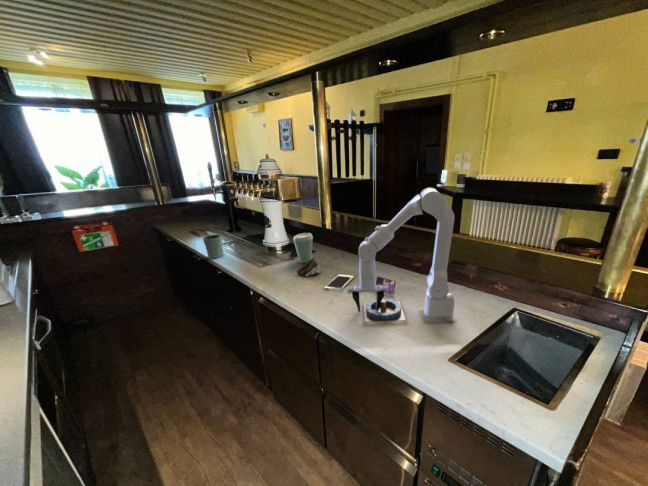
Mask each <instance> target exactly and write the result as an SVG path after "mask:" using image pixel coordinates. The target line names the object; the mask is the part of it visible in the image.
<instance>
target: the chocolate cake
mask: <svg viewBox="0 0 648 486" xmlns="http://www.w3.org/2000/svg"><path fill="white" fill-rule="evenodd" d="M295 272H296V274H297V275H301V276H303V277H304V278H305V277H309V276H314V275H315V274H320V273H321V272H322V269H321V266H320V264H318V262H317V260H316V258H315V256H312V259H310V260H309V261H308V262H307V263H303V264H302V265H301V266H300V267H299V268H297V270H296V271H295Z"/></svg>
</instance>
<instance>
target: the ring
mask: <svg viewBox="0 0 648 486" xmlns="http://www.w3.org/2000/svg"><path fill="white" fill-rule="evenodd" d="M382 300H386V305H388V306H392V307H393V308H395V310H394V311H392V312H389V313H379V312H375V311H374V310H372V308H373V307H375V306H376V299H373V300H370V301H368V302H367V303H368V304H367V305H366V313H367V315H369V316H370V317H372V318H375V319H379V320H380V319H381V320H389V318H390V319H393V318H396V317H397V316H399V315H400V313H401V307H402V304H401V303H400V304H401V305H400V304H399V303H398V302H396V300H394V299H390V298H383V299H382ZM380 305H381V303H380Z"/></svg>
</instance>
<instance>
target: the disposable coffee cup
mask: <svg viewBox="0 0 648 486" xmlns="http://www.w3.org/2000/svg"><path fill="white" fill-rule="evenodd" d="M313 238H314V237H313V234H312V233H311V232H303V233H298V234H296V235H294V237H293V243H294V247H295V250H296V254H297V257H298V261H299V262H300V263H301V264H305V263H307V262H308V261H309V260H310V259H312V258H313Z"/></svg>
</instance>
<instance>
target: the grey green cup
mask: <svg viewBox="0 0 648 486" xmlns="http://www.w3.org/2000/svg"><path fill="white" fill-rule="evenodd" d="M202 240H203V244H204V246H205V250H206V253H207V257H208V258H209V259H218V258H222V257H223V256H224V249H223V240H222V235H221V234H208V235H205V236H203V237H202Z"/></svg>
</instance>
